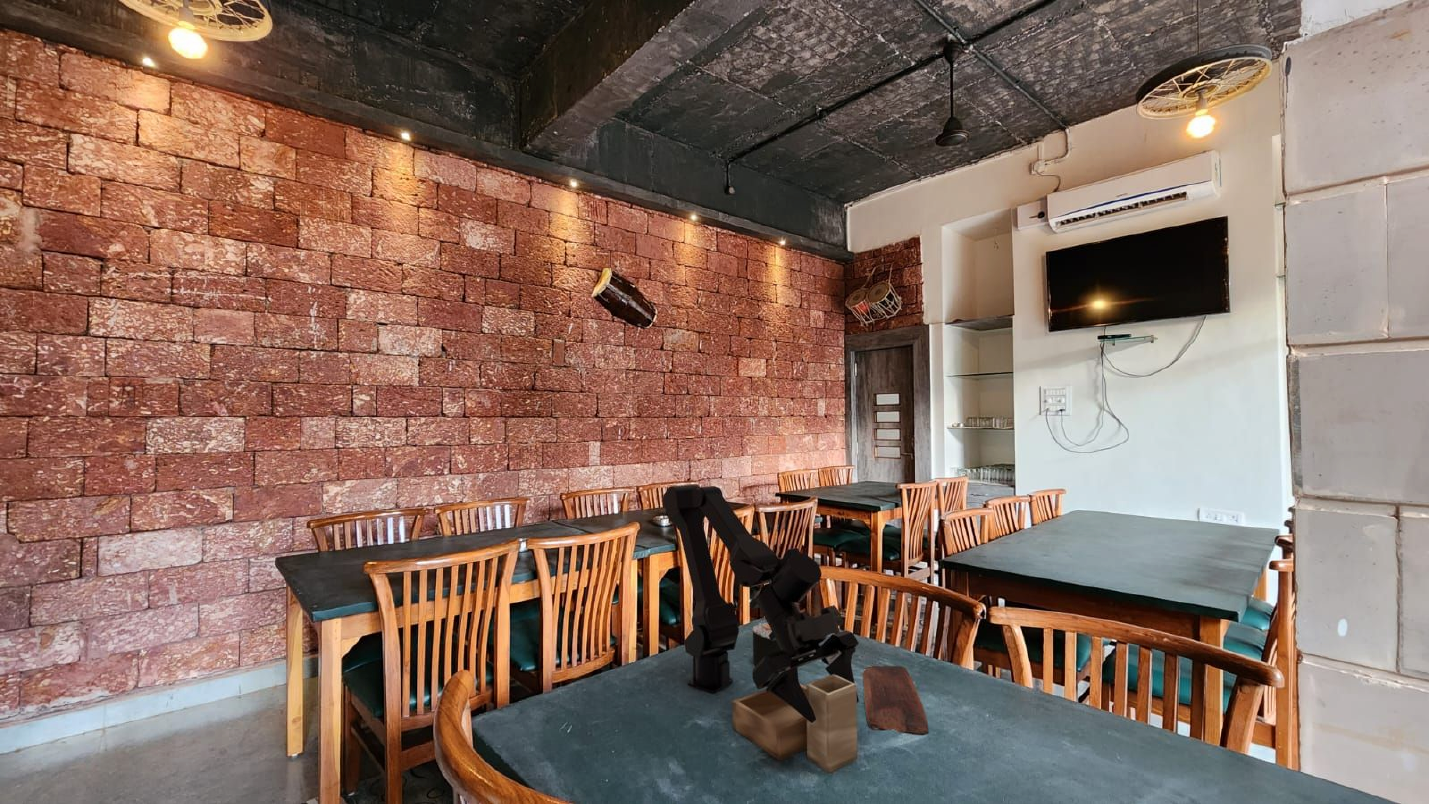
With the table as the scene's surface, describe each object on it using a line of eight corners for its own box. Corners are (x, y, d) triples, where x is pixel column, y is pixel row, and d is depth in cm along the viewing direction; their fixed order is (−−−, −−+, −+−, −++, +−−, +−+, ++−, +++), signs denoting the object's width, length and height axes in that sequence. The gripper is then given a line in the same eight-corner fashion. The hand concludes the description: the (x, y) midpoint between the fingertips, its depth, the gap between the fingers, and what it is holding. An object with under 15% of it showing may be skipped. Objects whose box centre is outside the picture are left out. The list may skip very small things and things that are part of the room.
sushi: (771, 653, 128) (771, 616, 129) (801, 664, 122) (801, 626, 122) (745, 663, 123) (745, 625, 123) (775, 676, 117) (775, 635, 117)
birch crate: (807, 758, 88) (806, 684, 89) (834, 745, 92) (833, 674, 92) (829, 773, 85) (828, 695, 85) (857, 758, 88) (856, 684, 88)
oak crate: (733, 728, 97) (732, 701, 97) (792, 705, 105) (792, 679, 105) (779, 761, 88) (779, 730, 88) (841, 732, 95) (841, 704, 96)
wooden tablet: (861, 659, 122) (911, 657, 120) (862, 670, 122) (912, 668, 120) (865, 724, 96) (929, 723, 94) (867, 738, 96) (931, 737, 94)
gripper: (763, 601, 87) (818, 705, 78) (848, 580, 98) (906, 670, 89) (731, 640, 93) (779, 741, 84) (815, 616, 104) (866, 703, 95)
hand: (836, 712), depth 88 cm, fingers open, 9 cm apart
